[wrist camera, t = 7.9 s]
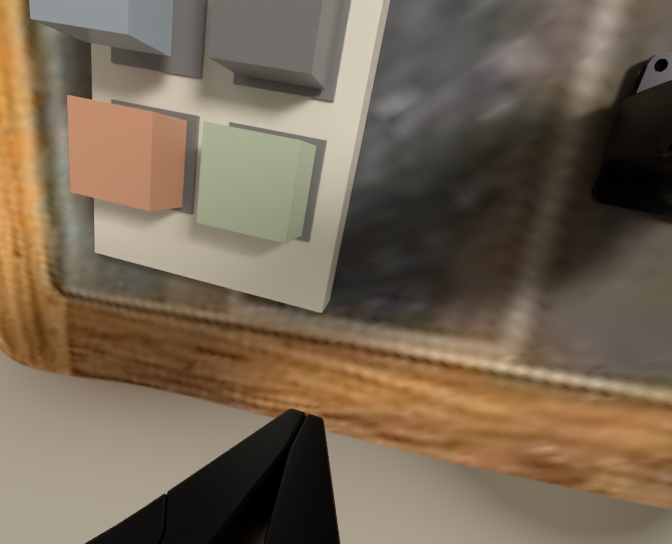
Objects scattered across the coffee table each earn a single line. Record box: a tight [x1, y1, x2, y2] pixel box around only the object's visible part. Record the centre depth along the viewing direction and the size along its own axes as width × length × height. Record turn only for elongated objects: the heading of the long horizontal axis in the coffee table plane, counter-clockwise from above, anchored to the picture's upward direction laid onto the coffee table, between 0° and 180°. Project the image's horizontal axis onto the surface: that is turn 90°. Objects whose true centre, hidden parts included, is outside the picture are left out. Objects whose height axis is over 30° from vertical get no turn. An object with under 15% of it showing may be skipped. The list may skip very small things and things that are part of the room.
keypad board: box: [91, 0, 390, 313], centre depth 18 cm, size 15×20×2 cm
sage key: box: [196, 122, 316, 244], centre depth 16 cm, size 4×4×2 cm
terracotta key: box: [67, 95, 187, 211], centre depth 17 cm, size 4×4×2 cm
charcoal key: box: [208, 0, 341, 90], centre depth 14 cm, size 4×4×2 cm
